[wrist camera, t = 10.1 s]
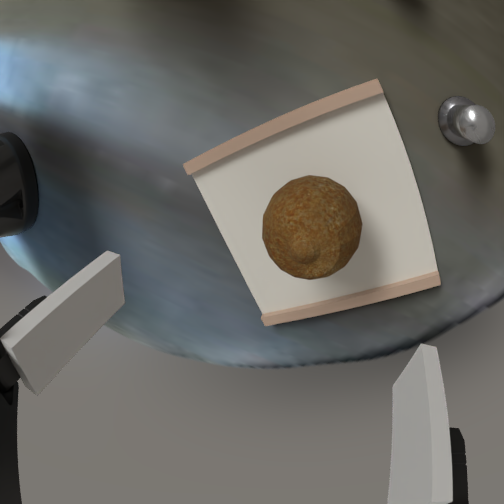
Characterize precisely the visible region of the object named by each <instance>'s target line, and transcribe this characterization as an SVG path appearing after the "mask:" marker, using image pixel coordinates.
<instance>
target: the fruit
mask: <svg viewBox="0 0 504 504" xmlns="http://www.w3.org/2000/svg"><path fill="white" fill-rule="evenodd" d="M362 225H363V224H362V220H361V216H360V212H359V209H358V205H357V202H356V200H355V199H354V198H353V196H352V195H351V194H350V193H349V191H348V190H347V189H346V188H345V187H344V186H342V185H341V184H339V183H337V182H335V181H334V180H332V179H330V178H328V177H321V176H313V175H308V176H304V177H300V178H297V179H293V180H291V181H289V182H288V183H286V184H285V185H284V186H283V187H282V188H280V189H279V190H278V191H277V192H275V193H274V194H273V196H272V198H271V200H270V202H269V204H268V206H267V208H266V210H265V212H264V214H263V226H262V239H263V242H264V244H265V247H266V250H267V252H268V255H269V257H270V258H271V259H272V260H273V262H274V263H275V264H276V265H277V266H278V267H279V268H280V270H282V271H284V272H286V273H288V274H289V275H291V276H293V277H295V278H301V279H307V280H314V279H319V278H325V277H328V276H331V275H332V274H334V273H336V272H337V271H339V270H340V269H342V268H344V267H345V266H346V265H347V263H348V262H349V261H350V259H351V258H352V256H353V255H354V253H355V252H356V250H357V249H358V247H359V243H360V237H361V231H362Z"/></svg>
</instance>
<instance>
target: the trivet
mask: <svg viewBox="0 0 504 504" xmlns="http://www.w3.org/2000/svg"><path fill="white" fill-rule="evenodd" d="M183 166H184V168H185V170H186V172H187V174H188V175H190V174H192V176H193V178H194V180H195V182H196V184H197V186H198V188H199V190H200V192H201V194H202V196H203V198H204V200H205V202H206V204H207V206H208V208H209V210H210V212H211V214H212V216H213V218H214V220H215V222H216V224H217V226H218V228H219V230H220V232H221V234H222V236H223V238H224V240H225V242H226V244H227V246H228V248H229V250H230V251H231V253H232V255H233V257H234V259H235V261H236V263H237V265H238V267H239V269H240V271H241V273H242V275H243V277H244V279H245V281H246V283H247V285H248V287H249V289H250V291H251V292H252V294H253V296H254V298H255V300H256V302H257V304H258V306H259V308H260V310H261V312H262V316H261V319H262V321H263V323H264V325H265V326H268V325H274V324H279V323H284V322H290V321H295V320H300V319H305V318H309V317H314V316H319V315H324V314H328V313H333V312H337V311H342V310H346V309H350V308H355V307H359V306H363V305H367V304H371V303H375V302H379V301H383V300H387V299H391V298H395V297H399V296H403V295H406V294H410V293H414V292H418V291H421V290H425V289H428V288H432V287H435V286H439V285H441V282H440V277H439V273H438V269H437V264H436V259H435V254H434V249H433V245H432V240H431V236H430V232H429V227H428V223H427V219H426V215H425V212H424V208H423V204H422V201H421V197H420V194H419V190H418V187H417V183H416V180H415V177H414V174H413V171H412V168H411V164H410V161H409V159H408V156H407V153H406V150H405V147H404V144H403V141H402V139H401V136H400V133H399V131H398V128H397V125H396V123H395V120H394V118H393V115H392V113H391V111H390V108H389V106H388V103H387V101H386V99H385V96H384V94H383V90H382V88H381V85H380V83H379V81H378V79H374V80H371V81H369V82H366V83H363V84H360V85H357V86H354V87H352V88H349V89H346V90H343V91H341V92H338V93H336V94H333V95H330V96H328V97H325V98H323V99H320V100H318V101H315V102H313V103H310V104H308V105H305V106H303V107H301V108H298V109H296V110H293V111H291V112H289V113H286V114H284V115H282V116H280V117H277V118H275V119H273V120H271V121H268V122H266V123H264V124H262V125H260V126H258V127H255V128H253V129H251V130H249V131H247V132H245V133H243V134H241V135H239V136H237V137H235V138H233V139H231V140H229V141H227V142H225V143H223V144H221V145H219V146H217V147H215V148H213V149H211V150H209V151H207V152H205V153H203V154H201V155H199V156H197V157H196V158H194V159H192V160H190V161H188V162H186V163H184V164H183ZM308 175H313V176H321V177H328V178H330V179H332V180H334V181H335V182H337V183H339V184H341V185H342V186H344V187H345V188H346V189H347V190H348V191H349V193H350V194H351V195H352V196H353V198H354V199H355V200H356V202H357V205H358V209H359V212H360V216H361V220H362V224H363V225H362V231H361V237H360V243H359V247H358V249H357V250H356V252H355V253H354V255H353V256H352V258H351V259H350V261H349V262H348V263H347V265H346V266H345V267H344V268H342V269H340V270H339V271H337V272H336V273H334V274H332V275H331V276H328V277H325V278H319V279H314V280H307V279H301V278H295V277H293V276H291V275H289V274H288V273H286V272H284V271H282V270H280V268H279V267H278V266H277V265H276V264H275V263H274V262H273V260H272V259H271V258H270V257H269V255H268V252H267V250H266V247H265V244H264V242H263V239H262V226H263V214H264V212H265V210H266V208H267V206H268V204H269V202H270V200H271V198H272V196H273V194H274V193H275V192H277V191H278V190H279V189H280V188H282V187H283V186H284V185H285V184H286V183H288V182H289V181H291V180H293V179H297V178H300V177H304V176H308Z"/></svg>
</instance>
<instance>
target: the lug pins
mask: <svg viewBox="0 0 504 504" xmlns="http://www.w3.org/2000/svg"><path fill="white" fill-rule="evenodd" d="M438 124H439V127H440V130H441V131H442V133H443V135H444V136H445V137H446V138H447V139H448V140H449V141H451V142H452V143H454V144H457V145H460V146H467V145H471V144H473V143H477V144H485V143H487V142H489V141H490V140H491V139H492V137H493V135H494V132H495V122H494V119H493V116H492V115H491V113H490V112H489V111H488V110H487V109H486V108H484V107H483V106H480V105H475V104H474V103H473V102H472V101H471V100H469V99H467V98H465V97H461V96H454V97H450V98H448V99H446V100H445V101H444V102H443V103H442V105H441V106H440V108H439V111H438Z"/></svg>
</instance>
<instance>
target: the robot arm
mask: <svg viewBox="0 0 504 504" xmlns="http://www.w3.org/2000/svg"><path fill="white" fill-rule="evenodd" d="M37 211H38V189H37V182H36V177H35V172H34V168H33V165H32V162H31V159H30V156H29V154H28V152H27V150H26V148H25V146H24V144H23V143H22V141H21V140H20V139H19V138H18V137H17V136H16V135H15V134H13V133H10V132H6V133H2V134H0V237H6V236H13V235H18V234H20V233H22V232H24V231H26V230H27V229H29V228H31V227H32V225H33V224H34V222H35V220H36V217H37ZM124 304H125V298H124V290H123V281H122V271H121V260H120V255H119V254H116V253H113V252H110V251H106V252H104V253H103V254H102V255H100V256H99V257H98V258H96V259H95V260H94V261H92V262H91V263H90V264H88V265H87V266H86V267H85V268H83V269H82V270H81V271H79V272H78V273H77V274H75V275H74V276H73V277H72V278H70V279H69V280H68V281H67V282H65V283H64V284H63V285H62V286H60V287H59V288H58V289H57V290H55V291H54V292H53V293H52V294H51V295H49V296H48V297H46V296H42V297H40V298H38V299H36V300H34V301H32V302H31V303H30V304H29V305H28V306H26V307H25V309H23V310H22V311H20V312H19V314H18V315H16V316H14V317H13V318H12V319H11V320H10V321H9V322H8V323H6V324H5V325H4V326H3V327H2V328H1V329H0V504H22V501H21V493H20V485H19V474H18V473H19V472H18V457H17V456H18V455H17V407H18V389H19V387H18V382H17V381H18V379H19V378H21V379H22V381H23V383H24V385H25V386H26V387H27V388H28V389H29V390H31V391H32V392H33V393H34V394H36V395H37V396H38V395H39V394H40V393H41V392H42V391H43V389H44V388H45V387H46V386H47V385H48V384H49V383H50V382H51V381H52V379H53V378H54V377H55V376H56V375H57V374H58V373H59V372H60V371H61V370H62V368H63V367H64V366H65V365H66V364H67V363H68V362H69V361H70V360H71V359H72V358H73V357H74V355H75V354H76V353H77V352H78V351H79V350H80V349H81V348H82V347H83V346H84V345H85V344H86V343H87V342H88V341H89V340H90V338H91V337H92V336H93V335H94V334H95V333H96V332H97V331H98V330H99V329H100V328H101V327H102V326H103V325H104V324H105V323H106V322H107V321H108V320H109V319H110V318H111V317H112V316H113V315H114V314H115V313H116V312H117V311H118V310H119V309H120V308H121V307H122V306H123V305H124ZM387 504H469V503H468V482H467V466H466V455H465V442H464V439H463V436H462V434H461V432H460V430H459V428H449V422H448V414H447V406H446V398H445V392H444V385H443V379H442V373H441V368H440V362H439V357H438V352H437V347H433V346H429V345H425V344H420V346H419V348H418V349H417V351H416V352H415V354H414V355H413V357H412V358H411V360H410V361H409V363H408V364H407V366H406V367H405V369H404V371H403V372H402V373H401V375H400V376H399V378H398V379H397V380H396V382H395V383H394V385H393V427H392V454H391V469H390V482H389V493H388V502H387Z"/></svg>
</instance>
